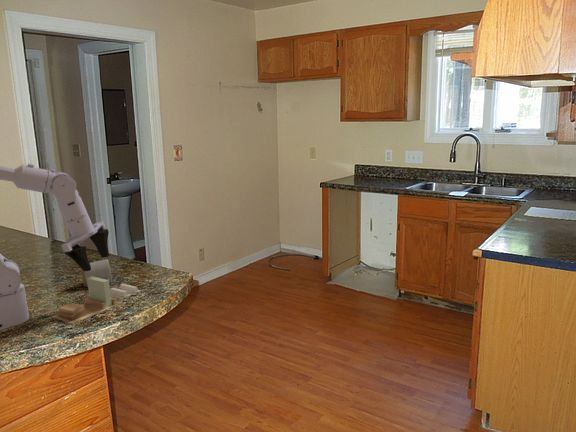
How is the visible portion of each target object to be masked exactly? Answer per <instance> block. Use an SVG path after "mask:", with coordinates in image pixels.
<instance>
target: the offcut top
mask: <svg viewBox="0 0 576 432" xmlns="http://www.w3.org/2000/svg"><path fill="white" fill-rule="evenodd" d="M57 309H58V311H59V313H64V314H69V315H75V314H77V313H79V312H81V311H83V310H84V305H81V304H77V303H74V302H73V303H72V302H69V303H66V304H64V305H62V306H60V307H58V308H57Z"/></svg>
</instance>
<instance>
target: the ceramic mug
mask: <svg viewBox="0 0 576 432" xmlns="http://www.w3.org/2000/svg"><path fill="white" fill-rule="evenodd" d="M109 262H110V261H109V259H107V258H106V259H101V260H97V261H94V262H89V263H90V266H91V270H90V271H83V270H82V268H81V267H80V271H81V276H82V282H83V287H85V288H86V287H87V288H88V282H87V278H89V277H92V276H93V277H97V278H101V279H106V280H109V284H112V283H113V279H112V278H113V277H112V272H111V266H110V263H109Z"/></svg>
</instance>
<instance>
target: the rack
mask: <svg viewBox="0 0 576 432" xmlns="http://www.w3.org/2000/svg"><path fill="white" fill-rule="evenodd" d="M111 301H112V305H111V306H109V307H107V306H106V303H105V302H101V301H98V300H94V299H90V297H85V298H83V303H81V304H80V305H84V310H86V314H87V315H85V316H83V317H80V318H78V319H76V320H73V321H71V320H68V319H65V318H62V317H59V316H58V313H56V314H54V315H51V316H50V317H51V318H53V319H56V320H60V321H63V322H65V323H69V324H71V325H73V324H76V323H77V322H80V321H83V320H85V319H88V318H89V317H92V316H94V315H97V314H99V313H101V312H103V311H106V310H108V309H110V308H113V307H116V306H118V305H120V304H122V303H123V302H122V301H118V298H115V297H112V296H111Z"/></svg>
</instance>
